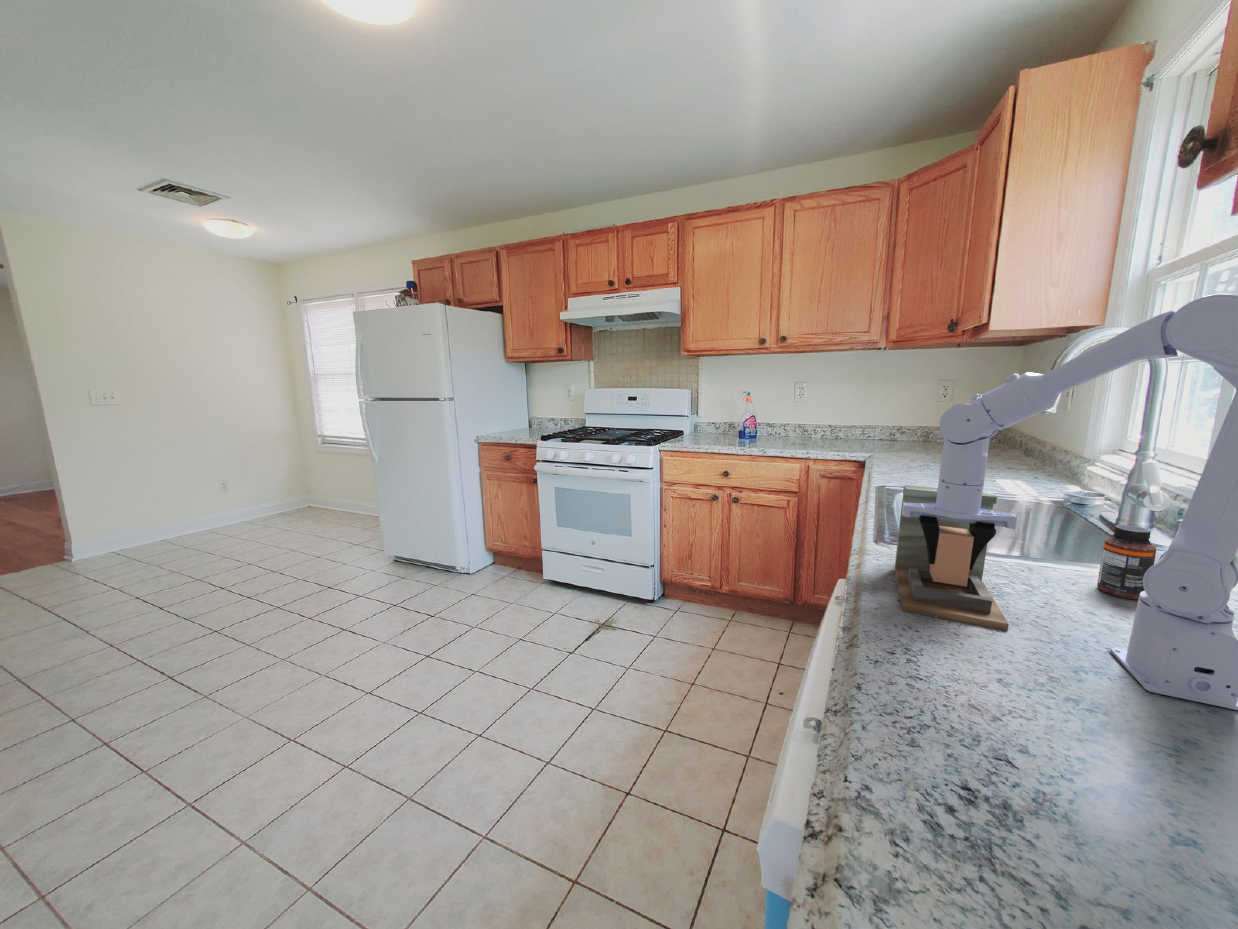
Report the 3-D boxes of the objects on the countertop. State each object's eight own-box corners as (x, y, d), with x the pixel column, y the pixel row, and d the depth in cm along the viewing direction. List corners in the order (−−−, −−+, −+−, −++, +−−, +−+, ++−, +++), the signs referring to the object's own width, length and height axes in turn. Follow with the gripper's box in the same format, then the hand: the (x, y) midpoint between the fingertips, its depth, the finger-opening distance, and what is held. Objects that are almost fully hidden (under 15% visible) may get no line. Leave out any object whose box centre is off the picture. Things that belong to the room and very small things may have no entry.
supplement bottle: (1122, 585, 83) (1134, 523, 81) (1158, 601, 77) (1172, 534, 75) (1086, 584, 83) (1097, 522, 81) (1119, 600, 77) (1132, 533, 75)
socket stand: (1007, 630, 68) (1025, 521, 65) (902, 610, 74) (914, 509, 71) (979, 582, 84) (992, 492, 81) (894, 569, 89) (904, 485, 86)
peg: (966, 586, 74) (973, 537, 72) (933, 581, 76) (939, 533, 74) (961, 576, 78) (967, 529, 76) (929, 571, 80) (935, 525, 78)
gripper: (1012, 481, 74) (999, 563, 77) (904, 472, 80) (895, 549, 83) (1026, 491, 68) (1011, 580, 70) (908, 481, 74) (898, 563, 77)
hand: (949, 564), depth 76 cm, fingers closed on peg, 4 cm apart
